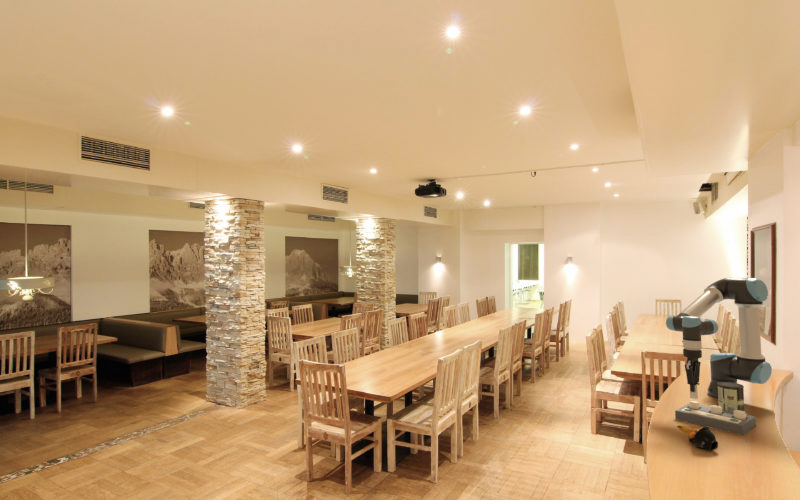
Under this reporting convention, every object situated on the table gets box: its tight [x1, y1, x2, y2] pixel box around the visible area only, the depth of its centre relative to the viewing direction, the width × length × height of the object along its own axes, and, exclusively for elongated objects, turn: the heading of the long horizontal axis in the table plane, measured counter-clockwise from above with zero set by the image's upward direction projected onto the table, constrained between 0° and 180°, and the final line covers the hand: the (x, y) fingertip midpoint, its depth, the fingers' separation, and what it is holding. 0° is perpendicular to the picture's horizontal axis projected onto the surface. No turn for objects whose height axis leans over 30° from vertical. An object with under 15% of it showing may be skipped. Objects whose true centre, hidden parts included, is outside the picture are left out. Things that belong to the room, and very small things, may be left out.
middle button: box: [709, 404, 722, 415], centre depth 206 cm, size 4×4×5 cm
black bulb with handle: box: [676, 425, 719, 451], centre depth 181 cm, size 9×11×18 cm
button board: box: [674, 403, 757, 436], centre depth 204 cm, size 18×26×4 cm
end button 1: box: [688, 400, 701, 410], centre depth 213 cm, size 4×4×5 cm
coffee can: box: [717, 382, 745, 412], centre depth 215 cm, size 10×10×14 cm
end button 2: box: [734, 410, 747, 420], centre depth 199 cm, size 4×4×5 cm
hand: (693, 398), depth 213 cm, fingers closed
